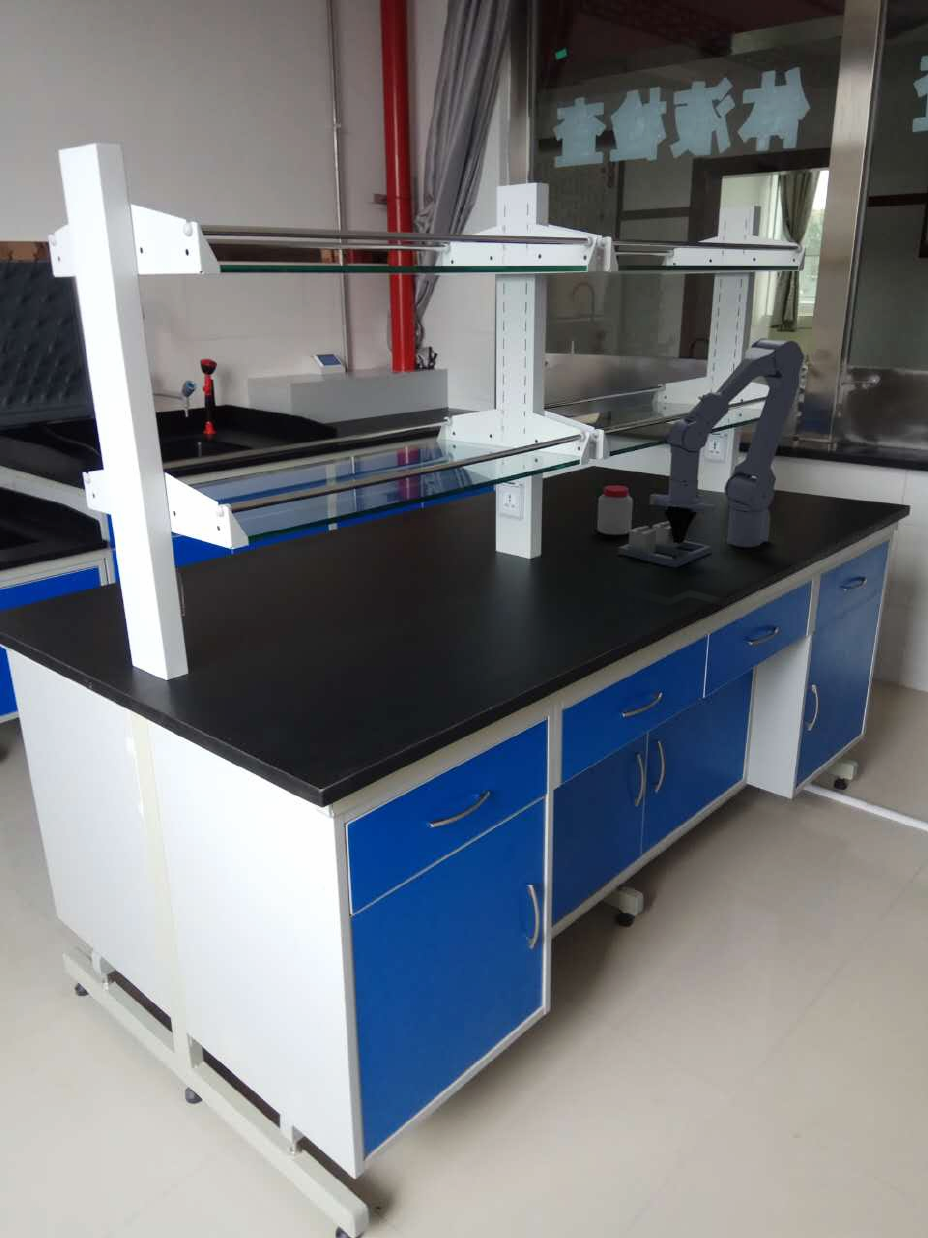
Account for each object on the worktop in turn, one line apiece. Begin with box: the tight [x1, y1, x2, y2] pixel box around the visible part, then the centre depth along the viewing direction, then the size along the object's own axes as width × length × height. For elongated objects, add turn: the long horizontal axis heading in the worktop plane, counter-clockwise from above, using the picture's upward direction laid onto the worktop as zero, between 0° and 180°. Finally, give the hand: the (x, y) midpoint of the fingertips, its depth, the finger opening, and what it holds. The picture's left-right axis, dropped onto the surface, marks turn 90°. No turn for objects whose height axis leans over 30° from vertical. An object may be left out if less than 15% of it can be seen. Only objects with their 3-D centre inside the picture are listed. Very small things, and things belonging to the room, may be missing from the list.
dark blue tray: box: [618, 540, 713, 568], centre depth 199 cm, size 14×19×3 cm
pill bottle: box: [596, 485, 634, 536], centre depth 214 cm, size 8×8×11 cm
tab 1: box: [628, 525, 656, 554], centre depth 197 cm, size 4×4×6 cm
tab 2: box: [651, 520, 678, 549], centre depth 200 cm, size 4×4×6 cm
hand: (678, 542), depth 198 cm, fingers closed
